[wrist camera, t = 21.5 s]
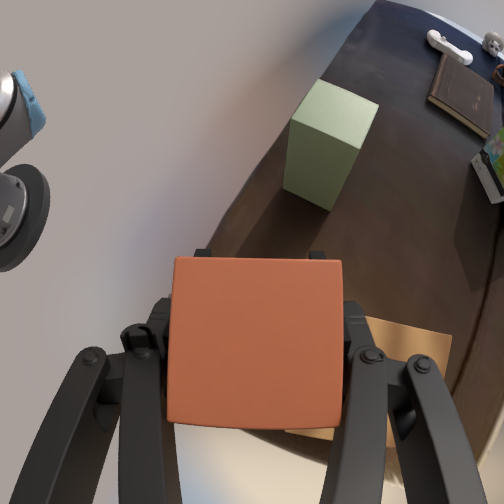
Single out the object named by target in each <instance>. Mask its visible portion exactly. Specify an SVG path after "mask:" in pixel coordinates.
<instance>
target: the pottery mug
mask: <svg viewBox="0 0 504 504" xmlns="http://www.w3.org/2000/svg"><path fill="white" fill-rule="evenodd" d="M500 68H502V77H501V75H500V74H499V72H498V70H499V69H500ZM503 77H504V64H500V65H498V66H497V67H496V69H495V71H494V72H493V73H492V79H494V80H495V81H497V82H498V83H499V84H500V85H501V86H502V85H503V87H504V78H503Z"/></svg>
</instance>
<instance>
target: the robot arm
mask: <svg viewBox="0 0 504 504" xmlns="http://www.w3.org/2000/svg"><path fill="white" fill-rule="evenodd" d="M45 123H46V117H45V115H44V113H43V111H42V109H41V107H40V105H39V103H38V101H37V99H36V97H35V95H34V93H33V92H32V90H31V88H30V86H29V84H28V82H27V80H26V78H25V76H24V74H23V72H22V71H21V70H17V71H15V72H13V73H12V74H11V75H10V74H9V73H8V72H7V71H5V70H1V69H0V168H1V167H2V166H3V165H4V164H5V163H6V162H7V161H8V160H9V159H10V158H11V157H12V156H13V155H14V154H15V153H16V152H18V151H19V150H20V149H21V148H22V147H23V146H24V145H25V144H26V143H28V142H29V141H30V140H31V139H33V138H34V136H35V135H36V134H37V133H38V132H39V131H40V130H41V129H42V128H43V127H44V125H45ZM29 200H30V197H29V190H28V187H27V185H26V184H25V183H24V182H23V181H22V180H20V179H19V178H17V177H15V176H11V175H8V174H4V173H0V249H2V248H4V247H6V246H7V245H8V244H9V243H10V242H11V241H12V240H13V239H14V238H15V237H16V235H17V234H18V233H19V231H20V229H21V227H22V225H23V223H24V221H25V218H26V216H27V212H28V208H29ZM193 257H211V249H196V251H195V254H194V256H193ZM309 259H317V260H327V259H326V256H325V253H324V251H309ZM170 310H171V298H161V299H160V300H159V301H158V302H157V303H156V304H155V305H154V307H153V310H152V313H151V314H150V316H149V319H148V321H147V323H146V324H139V323H138V324H133V325H131V326H129V327H127V328H125V329H124V330H123V331H122V334H121V335H120V338H121V341H122V344H123V347H124V350H125V352H124V353H119V354H111V355H106V353H105V351H104V350H103V349H102V348H99V347H88V348H85V349H83V350H82V351H80V352H79V354H78V355H77V356H76V358H75V360H74V362H73V363H72V365H71V367H70V369H69V371H68V373H67V374H66V376H65V378H64V380H63V382H62V384H61V386H60V388H59V390H58V392H57V394H56V396H55V397H54V399H53V401H52V403H51V406H50V408H49V410H48V412H47V414H46V416H45V418H44V420H43V422H42V424H41V426H40V429H39V431H38V433H37V435H36V437H35V439H34V442H33V444H32V446H31V449H30V451H29V453H28V456H27V458H26V460H25V463H24V465H23V468H22V470H21V473H20V475H19V478H18V480H17V483H16V485H15V488H14V491H13V493H12V497H11V499H10V502H9V504H92V503H93V499H94V495H95V492H96V488H97V485H98V481H99V478H100V475H101V471H102V468H103V465H104V462H105V459H106V455H107V452H108V449H109V446H110V443H111V440H112V437H113V434H114V431H115V428H116V424H117V421H118V419H119V416H120V426H119V453H118V456H119V457H118V489H119V490H118V495H119V504H182V497H181V489H180V481H179V473H178V465H177V455H176V444H175V432H174V423H170V422H168V421H167V369H168V345H169V326H170ZM367 323H368V322H367V320H366V318H365V314H364V312H363V309H362V308H361V307H360V306H359V305H358V304H357V303H356V302H355V301H343V388H342V410H341V425H340V427H337V428H334V434H333V440H332V446H331V451H330V456H329V461H328V466H327V471H326V476H325V481H324V485H323V490H322V494H321V498H320V503H319V504H381V498H382V490H383V481H384V470H385V457H386V441H387V413H388V417H389V421H390V425H391V429H392V433H393V437H394V441H395V445H396V450H397V454H398V458H399V463H400V468H401V472H402V477H403V482H404V487H405V493H406V498H407V503H408V504H487V500H486V496H485V492H484V489H483V485H482V482H481V478H480V475H479V472H478V469H477V465H476V462H475V459H474V456H473V453H472V450H471V447H470V445H469V442H468V439H467V436H466V433H465V431H464V428H463V425H462V423H461V420H460V418H459V415H458V413H457V410H456V408H455V405H454V403H453V400H452V398H451V395H450V393H449V391H448V388H447V386H446V384H445V381H444V379H443V377H442V375H441V372H440V370H439V368H438V366H437V364H436V362H435V361H434V360H433V359H432V358H430V357H429V356H426V355H424V354H415V355H412V356H411V357H410V358H408V361H407V362H404V361H398V360H393V359H390V358H388V357H386V354H385V353H384V352H383V351H382V350H381V349H380V348H378V347H376V344H375V342H374V339H373V336H372V333H371V331H370V328H369V325H368V324H367Z"/></svg>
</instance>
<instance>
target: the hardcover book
mask: <svg viewBox="0 0 504 504" xmlns="http://www.w3.org/2000/svg"><path fill="white" fill-rule="evenodd" d="M427 101H428V102H429V103H431V104H433V105H434V106H436V107H437V108H439V109H440V110H442V111H443V112H445V113H446V114H448V115H449V116H451V117H452V118H454V119H455V120H457V121H458V122H460V123H461V124H463V125H464V126H465V127H467V128H468V129H469V130H471V131H472V132H474V133H475V134H476V135H478V136H479V137H480V138H481V139H483V140H484V141H485V142H486V137H487V136H489V137H490V134H491V123H492V109H493V85H492V84H490V83H489V82H488V81H486V80H485V79H484V78H482V77H481V76H479V75H478V74H477V73H475V72H474V71H472V70H471V69H469V68H468V67H466V66H465V65H463V64H462V63H460V62H459V61H457V60H455V59H454V58H452V57H451V56H449V55H447V54H446V53H443V54H442V56H441V59H440V62H439V65H438V68H437V71H436V74H435V77H434V80H433V83H432V86H431V89H430V91H429V94H428V97H427Z"/></svg>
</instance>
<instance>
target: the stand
mask: <svg viewBox="0 0 504 504" xmlns="http://www.w3.org/2000/svg"><path fill="white" fill-rule="evenodd" d="M378 107H379V105H377V104H375V103H373V102H371V101H369V100H366V99H364V98H362V97H360V96H358V95H356V94H353V93H351V92H349V91H346V90H344V89H342V88H339V87H337V86H335V85H332V84H330V83H327V82H325V81H322V80H320V79H318V80H317V81H316V83H315V84H314V86H313V87H312V88H311V90H310V91H309V93H308V94H307V96H306V97H305V99H304V100H303V102H302V103H301V104H300V106H299V107H298V109H297V110H296V112H295V113H294V115H293V116H292V118H291V123H290V131H289V140H288V148H287V156H286V164H285V172H284V180H283V189H285V190H287V191H289V192H291V193H293V194H296V195H298V196H300V197H302V198H304V199H306V200H308V201H310V202H312V203H314V204H316V205H318V206H320V207H322V208H324V209H326V210H328V211H330V212H331V210H332V208H333V206H334V204H335V202H336V200H337V198H338V195H339V193H340V191H341V189H342V187H343V185H344V183H345V181H346V179H347V177H348V174H349V172H350V170H351V168H352V166H353V164H354V161H355V159H356V157H357V155H358V153H359V151H360V148H361V146H362V144H363V142H364V139H365V137H366V135H367V133H368V130H369V128H370V126H371V123H372V121H373V119H374V116H375V114H376V112H377V109H378Z"/></svg>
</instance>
